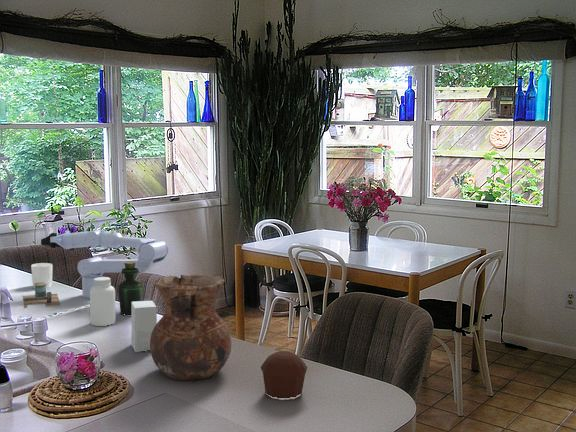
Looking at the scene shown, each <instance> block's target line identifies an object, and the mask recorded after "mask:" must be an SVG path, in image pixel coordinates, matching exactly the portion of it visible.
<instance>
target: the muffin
mask: <svg viewBox="0 0 576 432" xmlns="http://www.w3.org/2000/svg"><path fill="white" fill-rule="evenodd" d="M260 369H261V371H262V376H263V384H264V390H265V391H264V392H265V394H266V393H267V394H268V395H270V396H272V397H277V398H290V397H296V396H297V395H299V394H301V393H302V394H303V388H304V384H305V383H304V382H305V375H306V373H307V370H308V366H307V364H306V363H305V362H304V360H303V359H302V358H301V357H300V356H299V355H297V353H294V352H292V351H288V350H287V351H286V350H284V351H283V350H282V351H281V350H280V351H275V352H274V353H271V354H270V355H268V356H267V358H265V360H264V361H263V363H262V364H261V366H260Z"/></svg>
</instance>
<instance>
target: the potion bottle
mask: <svg viewBox="0 0 576 432" xmlns="http://www.w3.org/2000/svg"><path fill="white" fill-rule="evenodd" d="M135 263H136V262H133V261H128V262H124V264H125V268H123V269H122V272H120V273H121V274H123V275H124V278H125V279H124V281H122V282H120V283H119V285H118V286H117V290H118V301H119V309H120V310H119V311H120V314H121V315H122V314H125V315H131V302H135V301H142V295H143V294H142V290H143V285H142V283H141V282H139V281H137V280H135V277H136V274H138V273H140V272H139V271H138V269H137V268H135Z"/></svg>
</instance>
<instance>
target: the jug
mask: <svg viewBox="0 0 576 432" xmlns="http://www.w3.org/2000/svg"><path fill="white" fill-rule="evenodd" d="M224 283H225V278H224V277H222V276H220V275H213V274H212V275H210V274H191V275H187V274H186V275H185V274H181V275H180V277H178V276H176V275H175V276H174V275H173V276H172V275H167V276H164V277H163V278H162V279H160V280H159V281H157V282H155V284H154V286H155V288H157V289H156V290H158V291H159V293H160V295H161V297H162V299H163V302H164V306H165V307H164V308H165V311H164V314H163V316H162V317H161V318H160V319H159V321H158V320H157V321H158V322H157V324H156V325H155V327H154V329H153V331H152V334H151V338H150V351H149V352H150V354H151V357H152V361H153V362H154V364H155V366H156V367H157V368H158V370H159V371H160V372H162V374H164V375H166V376H167V377H169V378H170V379H173V378H174V379H173V380H177V379H179V380H178V381H195V380H194V379H197V380H202V379H207V378H206V377H208V378H210V376H211V377H213V376H215V375H216V374H217V373H219V372H220V370H222V369H223V367H224V366H225V365H226V363H227V361H228V359H229V357H230V354H231V351H232V347H233V345H232V344H233V343H232V342H233V341H232V336H231V332H230V329H229V327H228V325H227V323H226V321H224V319H223V318H222V317H221V316H220V315H219V314H218V313H217V311H216V301H217V296H218V294H219V291H220V290H221V289H222V286H223V285H224ZM212 375H213V376H212ZM201 378H202V379H201Z"/></svg>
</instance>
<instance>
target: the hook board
mask: <svg viewBox="0 0 576 432" xmlns="http://www.w3.org/2000/svg"><path fill="white" fill-rule="evenodd" d="M46 296H47V297H35V294H33V295H32V294H31V295H22V301H23V308H24V309H28V305H38V304H39V305H40V304H44V306H45V307H47V308H49V307H60V306H62V304H61V301H60V298H59V295H58V293H52V291H46Z"/></svg>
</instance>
